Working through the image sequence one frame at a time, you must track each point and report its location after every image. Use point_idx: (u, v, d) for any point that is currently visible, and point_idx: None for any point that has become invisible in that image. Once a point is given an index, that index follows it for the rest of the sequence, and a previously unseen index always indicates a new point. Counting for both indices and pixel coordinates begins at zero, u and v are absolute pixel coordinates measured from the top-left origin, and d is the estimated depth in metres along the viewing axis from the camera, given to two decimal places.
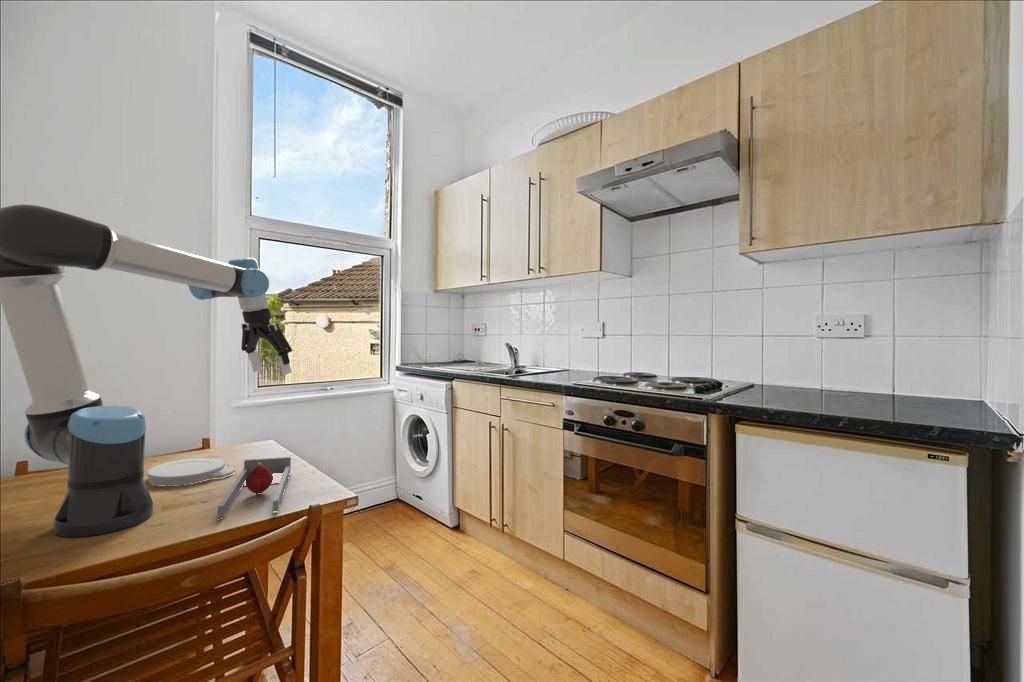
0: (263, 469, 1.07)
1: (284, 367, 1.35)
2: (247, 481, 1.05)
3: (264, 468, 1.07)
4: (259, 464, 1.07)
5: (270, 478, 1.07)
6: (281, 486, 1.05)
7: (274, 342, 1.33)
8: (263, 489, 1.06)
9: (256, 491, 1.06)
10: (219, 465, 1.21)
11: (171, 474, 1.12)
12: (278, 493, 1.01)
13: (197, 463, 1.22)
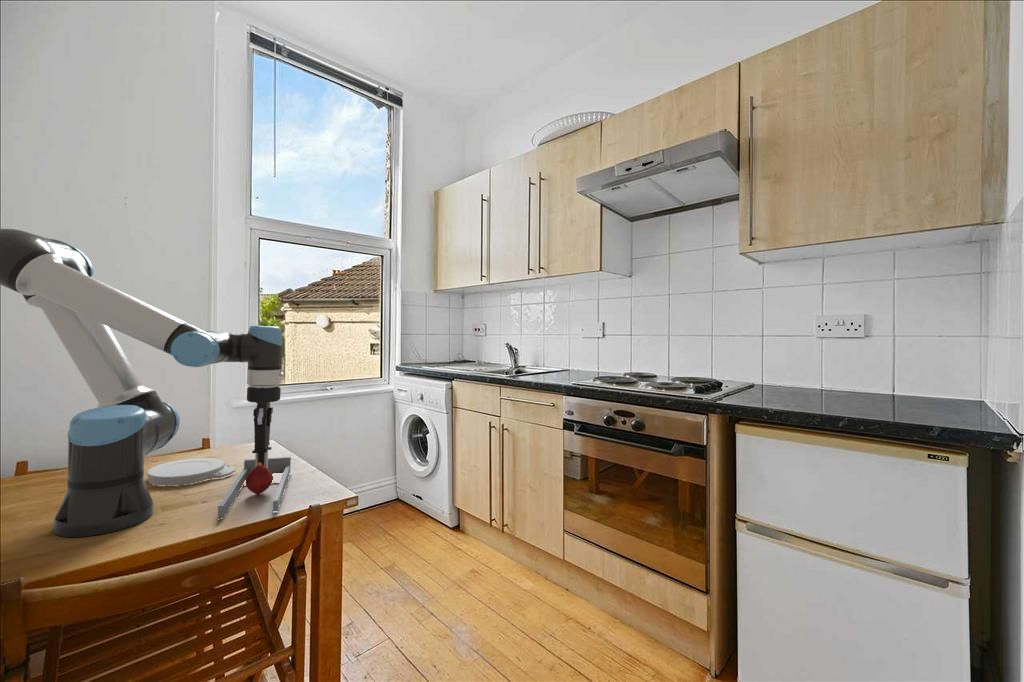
0: (263, 469, 1.07)
1: None
2: (247, 481, 1.05)
3: (264, 468, 1.07)
4: (259, 464, 1.07)
5: (270, 478, 1.07)
6: (281, 486, 1.05)
7: None
8: (263, 489, 1.06)
9: (256, 491, 1.06)
10: (219, 465, 1.21)
11: (171, 474, 1.12)
12: (278, 493, 1.01)
13: (197, 463, 1.22)
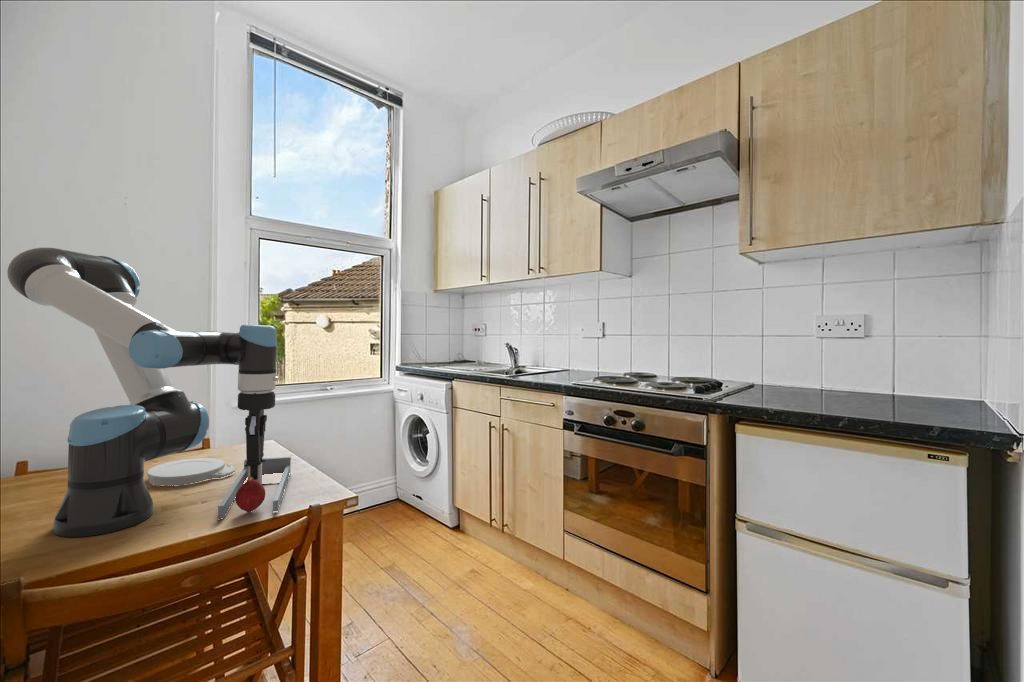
0: (253, 484, 0.96)
1: None
2: (236, 498, 0.95)
3: (255, 484, 0.96)
4: (250, 479, 0.96)
5: (261, 495, 0.96)
6: (281, 486, 1.05)
7: None
8: (253, 507, 0.95)
9: (246, 509, 0.95)
10: (219, 465, 1.21)
11: (171, 474, 1.12)
12: (278, 493, 1.01)
13: (197, 463, 1.22)
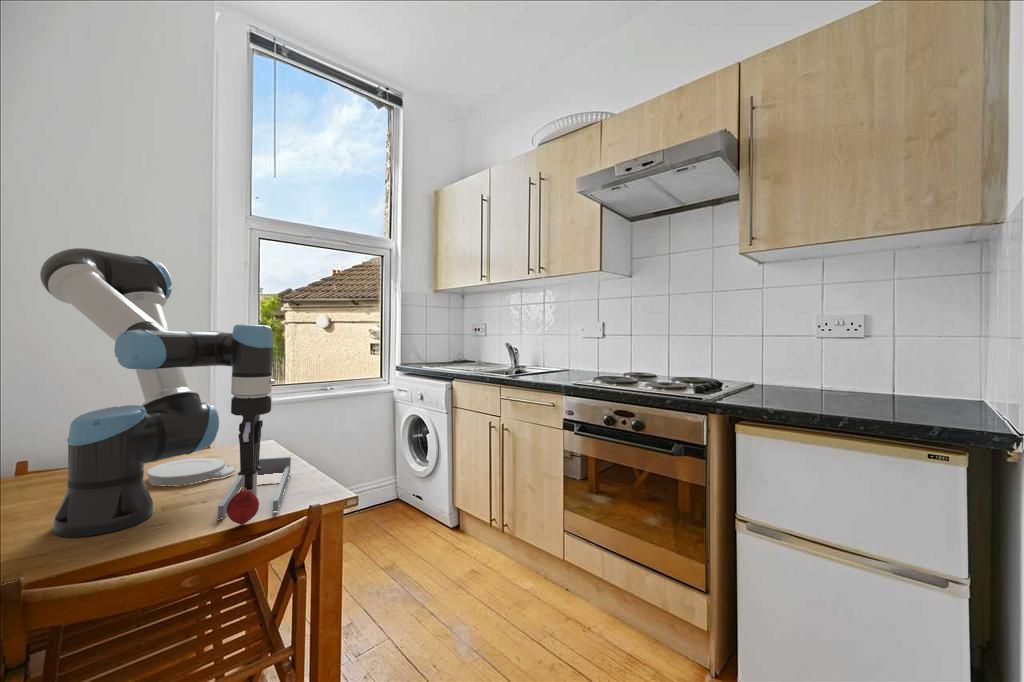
0: (245, 495, 0.90)
1: None
2: (227, 509, 0.89)
3: (247, 495, 0.90)
4: (242, 489, 0.90)
5: (253, 507, 0.90)
6: (281, 486, 1.05)
7: None
8: (245, 520, 0.89)
9: (237, 522, 0.89)
10: (219, 465, 1.21)
11: (171, 474, 1.12)
12: (278, 493, 1.01)
13: (197, 463, 1.22)
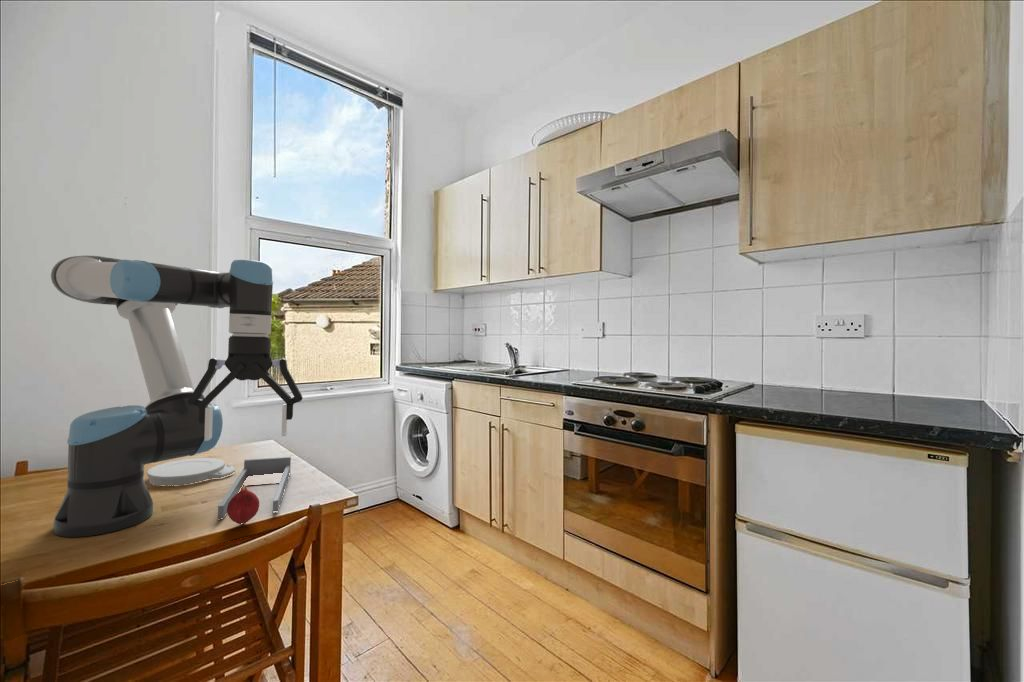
0: (246, 494, 0.90)
1: None
2: (227, 508, 0.89)
3: (248, 494, 0.90)
4: (243, 489, 0.91)
5: (254, 506, 0.90)
6: (281, 486, 1.05)
7: None
8: (245, 519, 0.89)
9: (237, 521, 0.89)
10: (219, 465, 1.21)
11: (171, 474, 1.12)
12: (278, 493, 1.01)
13: (197, 463, 1.22)
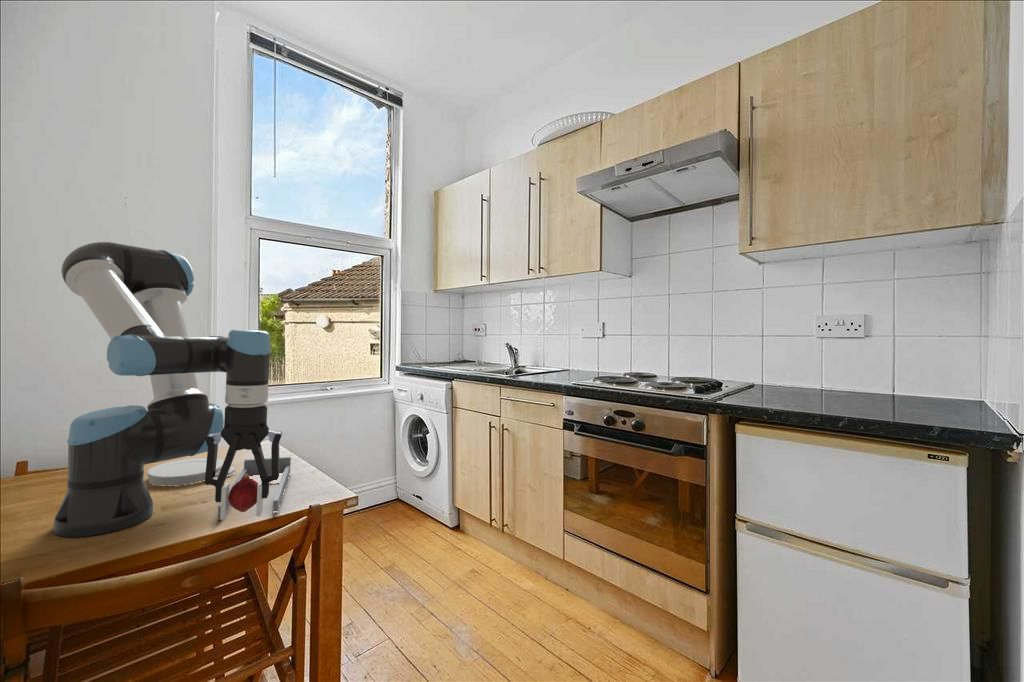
0: (248, 482, 0.90)
1: None
2: (229, 496, 0.89)
3: (250, 482, 0.91)
4: (245, 476, 0.91)
5: (256, 494, 0.91)
6: (281, 486, 1.05)
7: None
8: (246, 507, 0.90)
9: (238, 508, 0.89)
10: (219, 465, 1.21)
11: (171, 474, 1.12)
12: (278, 493, 1.01)
13: (197, 463, 1.22)
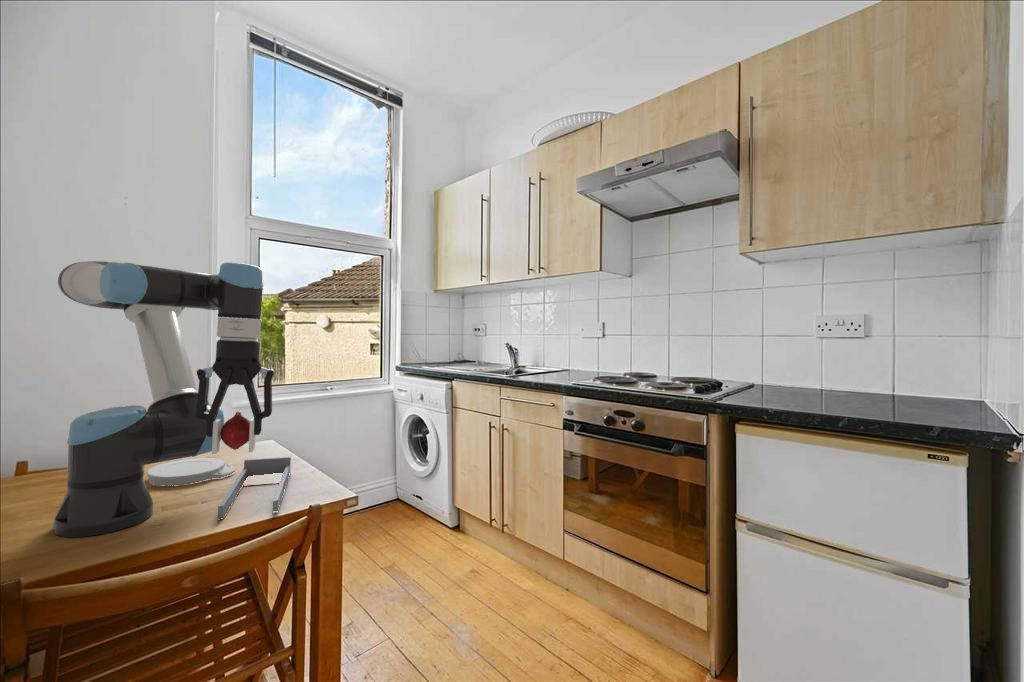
0: (240, 419, 0.90)
1: None
2: (221, 432, 0.89)
3: (242, 419, 0.90)
4: (237, 413, 0.90)
5: (248, 431, 0.90)
6: (281, 486, 1.05)
7: None
8: (238, 443, 0.89)
9: (230, 445, 0.89)
10: (219, 465, 1.21)
11: (171, 474, 1.12)
12: (278, 493, 1.01)
13: (197, 463, 1.22)
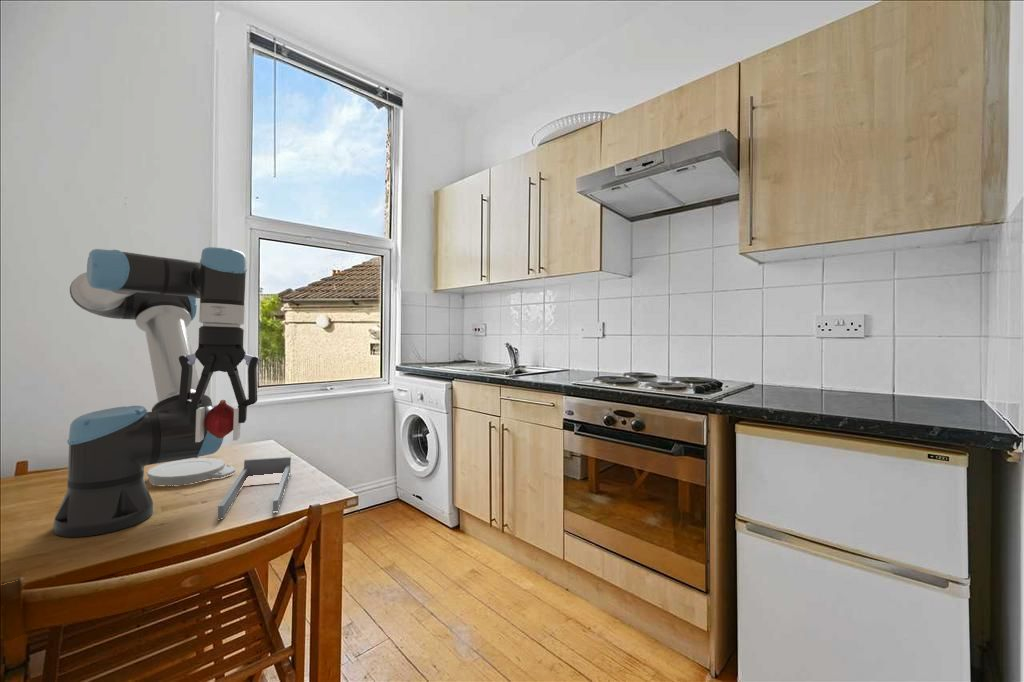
0: (224, 407, 0.88)
1: None
2: (205, 420, 0.87)
3: (227, 407, 0.89)
4: (222, 401, 0.89)
5: (233, 419, 0.88)
6: (281, 486, 1.05)
7: None
8: (223, 431, 0.88)
9: (214, 433, 0.87)
10: (219, 465, 1.21)
11: (171, 474, 1.12)
12: (278, 493, 1.01)
13: (197, 463, 1.22)
